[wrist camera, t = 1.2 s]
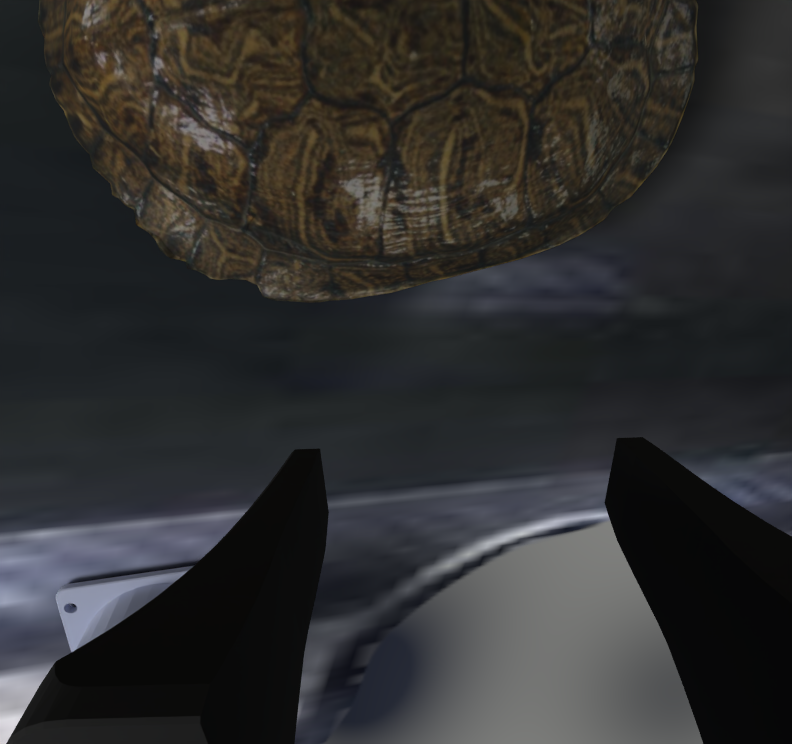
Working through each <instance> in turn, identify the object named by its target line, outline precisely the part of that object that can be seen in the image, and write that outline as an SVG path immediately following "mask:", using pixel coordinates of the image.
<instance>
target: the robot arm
mask: <svg viewBox="0 0 792 744" xmlns="http://www.w3.org/2000/svg"><path fill="white" fill-rule="evenodd" d="M605 505H606V508H607V512H608V515H609V518H610V521H611V524H612V527H613V530H614V532H615V535H616V538H617V541H618V543H619V545H620V547H621V549H622V551H623V553H624V555H625V557H626V560H627V562H628V564H629V566H630V568H631V570H632V572H633V574H634V576H635V578H636V580H637V582H638V584H639V586H640V588H641V590H642V592H643V594H644V596H645V598H646V600H647V602H648V604H649V606H650V608H651V610H652V612H653V614H654V616H655V618H656V620H657V622H658V624H659V626H660V628H661V631H662V633H663V635H664V637H665V639H666V642H667V644H668V646H669V649H670V652H671V654H672V657H673V660H674V662H675V665H676V667H677V670H678V673H679V676H680V678H681V681H682V684H683V686H684V689H685V692H686V695H687V698H688V700H689V703H690V706H691V709H692V712H693V715H694V717H695V720H696V723H697V726H698V729H699V732H700V734H701V738H702V740H703V744H792V536H790V535H788V534H786V533H784V532H783V531H781V530H779V529H777V528H776V527H774V526H772V525H770V524H769V523H767V522H765V521H764V520H762V519H760V518H759V517H757V516H756V515H754V514H753V513H751V512H749V511H748V510H746V509H745V508H743V507H742V506H740V505H738V504H737V503H735V502H734V501H732V500H731V499H729V498H728V497H726V496H725V495H723V494H722V493H720V492H719V491H717V490H716V489H715V488H713V487H712V486H710V485H709V484H707V483H706V482H705V481H703V480H702V479H700V478H699V477H698V476H696V475H695V474H693V473H692V472H691V471H689V470H688V469H686V468H685V467H684V466H682V465H681V464H680V463H678V462H677V461H675V460H674V459H673V458H671V457H670V456H669V455H667V454H666V453H665V452H663V451H662V450H660V449H659V448H658V447H656V446H655V445H653V444H652V443H650V442H649V441H647V440H646V439H644V438H643V437H638V438H617V441H616V446H615V451H614V457H613V462H612V467H611V472H610V478H609V483H608V488H607V493H606V499H605ZM328 513H329V511H328V504H327V497H326V490H325V482H324V475H323V468H322V461H321V453H320V449H297V450H294V451H293V452H292V453H291V454H290V456H289V457H288V459H287V460H286V462H285V463H284V464H283V466H282V467H281V469H280V470H279V471H278V473H277V474H276V475H275V477H274V478H273V479H272V481H271V482H270V483H269V485H268V486H267V487H266V489H265V490H264V491H263V492H262V494H261V495H260V496H259V497H258V499H257V500H256V501H255V502H254V504H253V505H252V506H251V507H250V508H249V510H248V511H247V512H246V513H245V514H244V515H243V516H242V518H241V519H240V520H239V521H238V522H237V523H236V524H235V525H234V527H233V528H232V529H231V530H230V531H229V532H228V533H227V534H226V535H225V536H224V537H223V538H222V539H221V540H220V542H219V543H218V544H217V545H216V546H215V547H214V548H213V549H212V550H210V551H209V552H208V553H207V554H206V555H205V556H204V557H203V558H202V559H201V560H200V561H199V562H198V563H197V564H196V565H194V566H188V567H181V568H174V569H167V570H161V571H154V572H147V573H140V574H133V575H126V576H119V577H112V578H105V579H99V580H92V581H85V582H78V583H71V584H66V585H64V586H62V587H61V588H60V589H59V591H58V593H57V595H56V602H57V605H58V609H59V612H60V615H61V619H62V622H63V626H64V629H65V632H66V636H67V639H68V642H69V646H70V649H71V653H70V654H68V655H66V656H65V657H63V658H61V659H59V660H58V661H56V662H55V664H54V665H53V667H52V668H51V670H50V671H49V673H48V674H47V676H46V677H45V679H44V680H43V681H42V683H41V684H40V686H39V688H38V690H37V691H36V693H35V695H34V697H33V698H32V700H31V702H30V704H29V705H28V707H27V709H26V710H25V712H24V714H23V716H22V717H21V719H20V721H19V723H18V724H17V726H16V728H15V730H14V731H13V733H12V735H11V737H10V738H9V740H8V742H7V743H6V744H294V742H295V732H296V722H297V712H298V703H299V693H300V684H301V676H302V667H303V658H304V651H305V645H306V639H307V634H308V629H309V624H310V620H311V615H312V610H313V606H314V601H315V596H316V592H317V587H318V582H319V578H320V573H321V568H322V563H323V558H324V553H325V547H326V536H327V525H328ZM68 603H73V604H75V605H76V606H77V607H72V606H70V605H69V604H68Z"/></svg>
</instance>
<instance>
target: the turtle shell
mask: <svg viewBox="0 0 792 744" xmlns="http://www.w3.org/2000/svg"><path fill="white" fill-rule="evenodd" d="M697 12H698V4H697V2H696V0H40V4H39V16H38V23H39V25H40V28H41V31H42V33H43V36H44V54H45V61H46V68H47V69H48V71H49V72H50V73H51V79H50V87H51V89H52V92H53V94H54V96H55V99H56V101H57V102H58V103H59V105H60V106H61V107H62V109H63V110H64V112H65V115H66V118H67V120H68V123H69V125H70V128H71V130H72V132H73V134H74V136H75V138H76V139H77V141H78V142H79V143H80V144H81V146H82V147H83V148H84V149H85V150H86V151H87V152H88V153H89V154H90V157H91V161H92V166H93V168H94V169H95V170H96V171H97V172H98V173H100V174H101V175H102V176H103V177H104V178H105V179H106V180H107V181H108V182H109V183H110V184H111V189H112V195H114V196H115V197H117V198H119V199H120V200H121V201H122V202H123V203H124V204H125V205H126V206H128V207H130V208H132V209H134V214H135V218H136V225H138V226H139V227H141V228H142V229H144V230H146V231H147V232H149V234H150V235H151V236H152V237H153V238H154V239H155V240H156V242H157V245H158V247H159V249H160V251H161V252H163V253H164V254H165V255H167V256H168V257H169V258H173V259H178V260H182V261H185V262H186V266H187V269H192V270H197V271H199V272H201V273H203V274H205V275H207V276H208V277H209V278H211V279H217V280H222V279H241V280H247V281H249V282H252V283H254V284H256V285H257V286H258V287H259V289H260V291H261V293H262V295H263V297H266V298H269V299H272V300H277V301H298V302H324V301H331V300H345V299H354V298H360V297H365V296H371V295H379V294H386V293H392V292H395V291H399V290H402V289H406V288H410V287H414V286H418V285H421V284H424V283H428V282H431V281H436V280H441V279H446V278H450V277H454V276H458V275H462V274H466V273H469V272H473V271H477V270H481V269H485V268H489V267H492V266H496V265H500V264H504V263H508V262H511V261H515V260H518V259H522V258H525V257H528V256H531V255H534V254H536V253H539V252H542V251H545V250H548V249H550V248H553V247H556V246H558V245H561V244H563V243H565V242H567V241H569V240H571V239H573V238H575V237H577V236H579V235H581V234H582V233H584V232H586V231H587V230H589V229H591V228H592V227H594V226H595V225H597V224H598V223H600V222H601V221H603V220H604V219H605V218H606V217H607V216H608V214H609V213H610V212H611V210H612V209H613V208H614V207H616V206H618V205H619V204H621V203H622V202H624V201H625V200H627V199H628V198H630V197H631V196H632V195H633V194H634V193H635V191H636V190H637V189H638V188H639V187H640V186H641V184H642V183H643V182H644V181H645V180H646V179H647V177H648V176H649V175H650V174H651V173H652V172H653V170H654V169H655V168H656V167H657V166H658V164H659V162H660V161H661V159H662V158H663V156H664V154H665V153H666V151H667V150H668V148H669V147H670V145H671V143H672V141H673V138H674V136H675V134H676V131H677V129H678V126H679V124H680V122H681V119H682V117H683V114H684V111H685V108H686V105H687V102H688V100H689V97H690V93H691V90H692V87H693V84H694V69H695V66H696V64H697V62H698V48H697V31H696V24H697Z"/></svg>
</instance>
